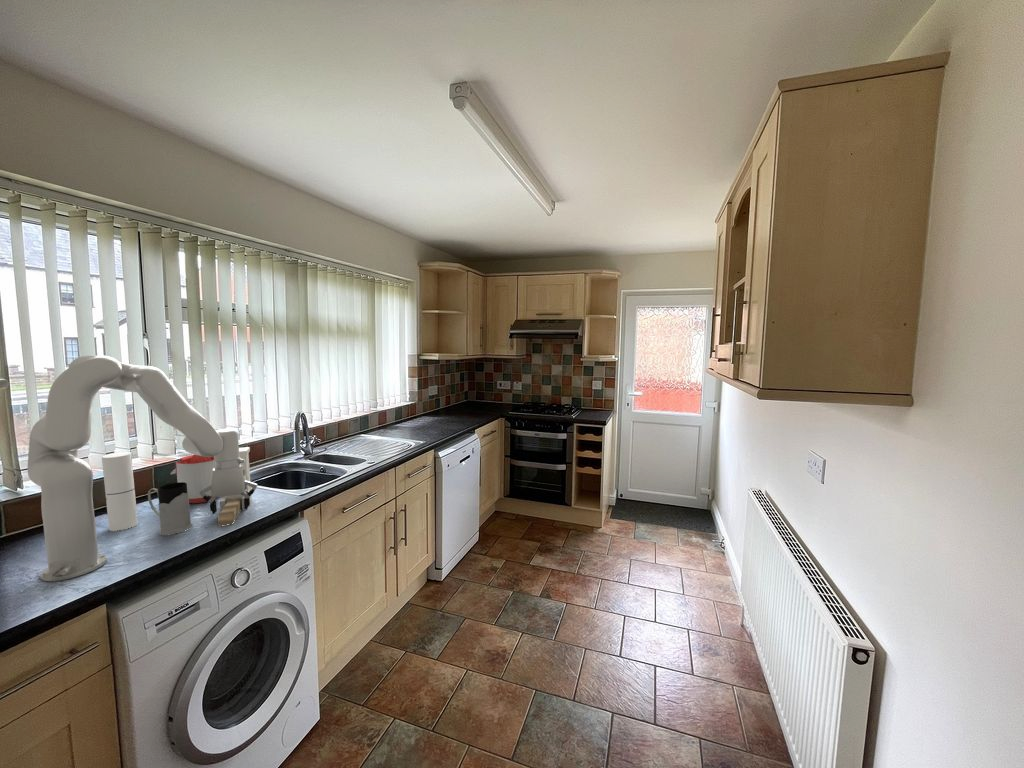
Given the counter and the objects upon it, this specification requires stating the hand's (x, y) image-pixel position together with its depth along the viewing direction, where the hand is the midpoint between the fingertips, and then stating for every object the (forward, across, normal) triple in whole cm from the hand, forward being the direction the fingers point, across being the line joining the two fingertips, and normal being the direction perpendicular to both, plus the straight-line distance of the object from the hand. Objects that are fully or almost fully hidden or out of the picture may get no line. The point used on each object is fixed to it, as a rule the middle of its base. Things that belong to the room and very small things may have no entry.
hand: (230, 510), depth 149 cm
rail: (+3, 0, 0) cm, 3 cm away
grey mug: (+2, +17, +3) cm, 17 cm away
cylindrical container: (+2, +32, -6) cm, 33 cm away
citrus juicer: (+2, +15, -26) cm, 30 cm away
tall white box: (+2, 0, -10) cm, 11 cm away
